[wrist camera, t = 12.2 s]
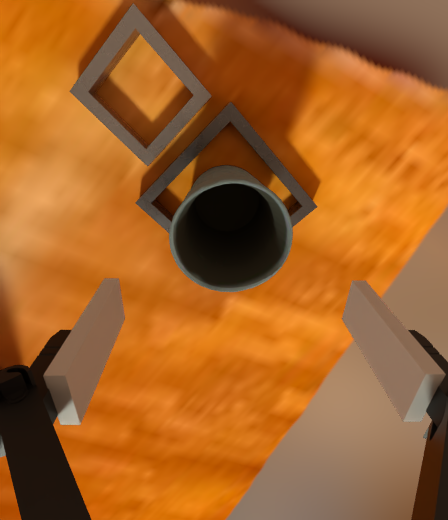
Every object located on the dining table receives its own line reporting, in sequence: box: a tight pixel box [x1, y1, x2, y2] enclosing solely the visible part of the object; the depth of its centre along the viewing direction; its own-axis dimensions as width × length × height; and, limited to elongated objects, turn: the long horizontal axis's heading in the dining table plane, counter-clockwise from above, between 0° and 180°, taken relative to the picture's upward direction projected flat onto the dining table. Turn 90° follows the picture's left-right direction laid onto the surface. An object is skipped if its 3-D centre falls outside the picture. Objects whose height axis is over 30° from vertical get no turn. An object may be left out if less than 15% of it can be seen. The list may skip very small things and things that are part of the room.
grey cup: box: [169, 165, 293, 292], centre depth 30 cm, size 10×10×12 cm
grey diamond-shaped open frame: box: [70, 3, 212, 166], centre depth 29 cm, size 9×9×2 cm
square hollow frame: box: [136, 102, 317, 233], centre depth 34 cm, size 14×14×2 cm
